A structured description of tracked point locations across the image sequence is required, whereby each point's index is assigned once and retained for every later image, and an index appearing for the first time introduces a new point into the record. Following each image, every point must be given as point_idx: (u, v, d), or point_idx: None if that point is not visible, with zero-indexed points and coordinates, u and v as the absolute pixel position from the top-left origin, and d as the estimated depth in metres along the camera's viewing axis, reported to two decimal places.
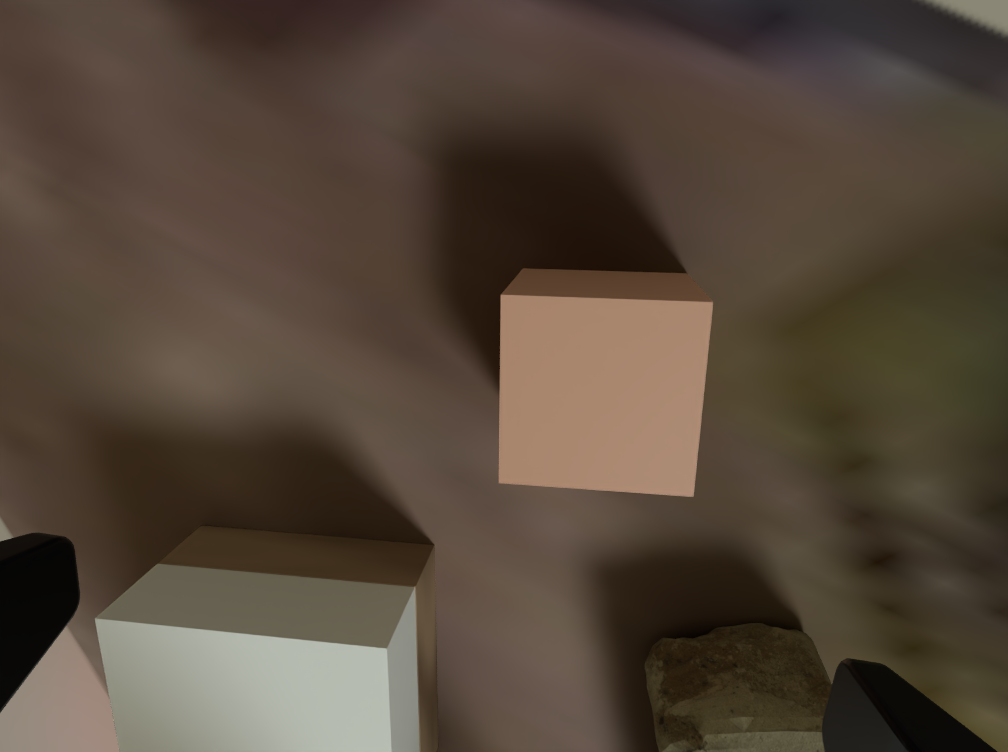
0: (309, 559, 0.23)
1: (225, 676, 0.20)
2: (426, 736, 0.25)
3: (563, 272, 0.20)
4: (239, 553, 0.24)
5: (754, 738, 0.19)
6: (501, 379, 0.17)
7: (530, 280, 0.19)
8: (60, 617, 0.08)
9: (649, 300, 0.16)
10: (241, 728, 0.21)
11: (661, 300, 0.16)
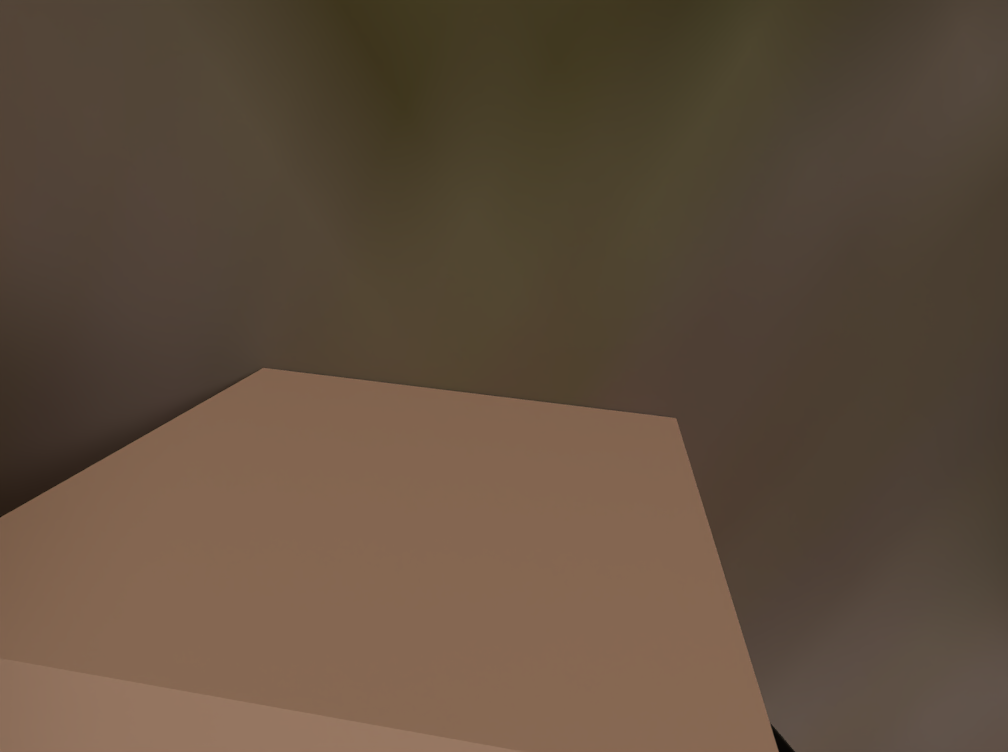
0: None
1: None
2: None
3: None
4: None
5: None
6: None
7: None
8: None
9: None
10: None
11: None
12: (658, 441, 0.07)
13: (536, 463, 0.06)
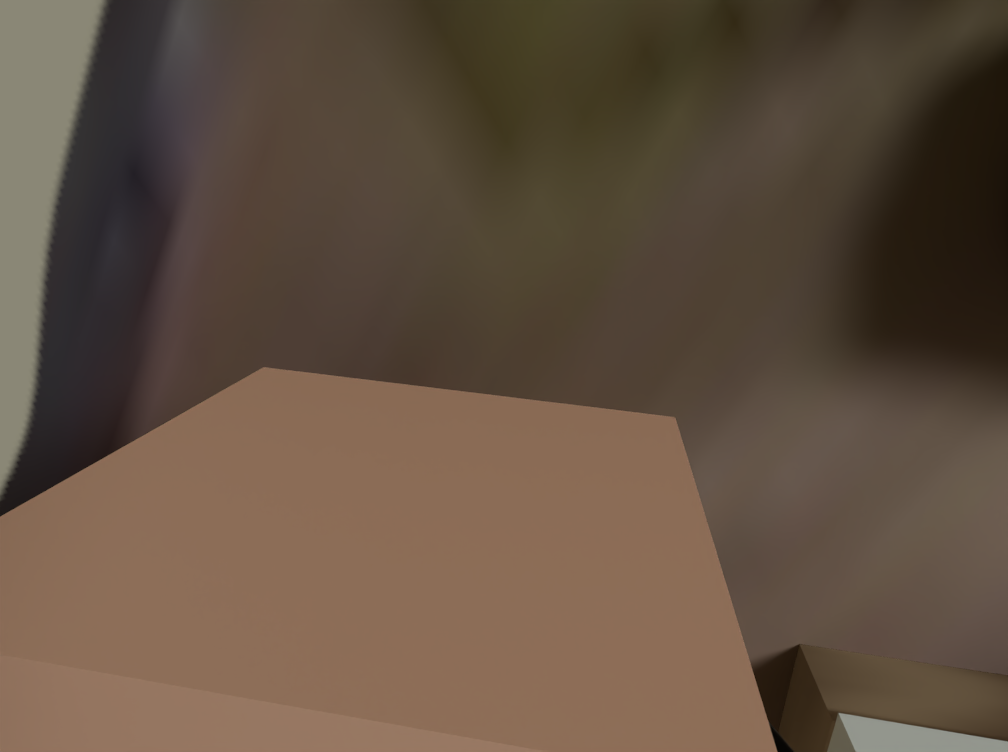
0: None
1: None
2: None
3: None
4: None
5: None
6: None
7: None
8: None
9: None
10: None
11: None
12: (657, 440, 0.07)
13: (535, 460, 0.06)
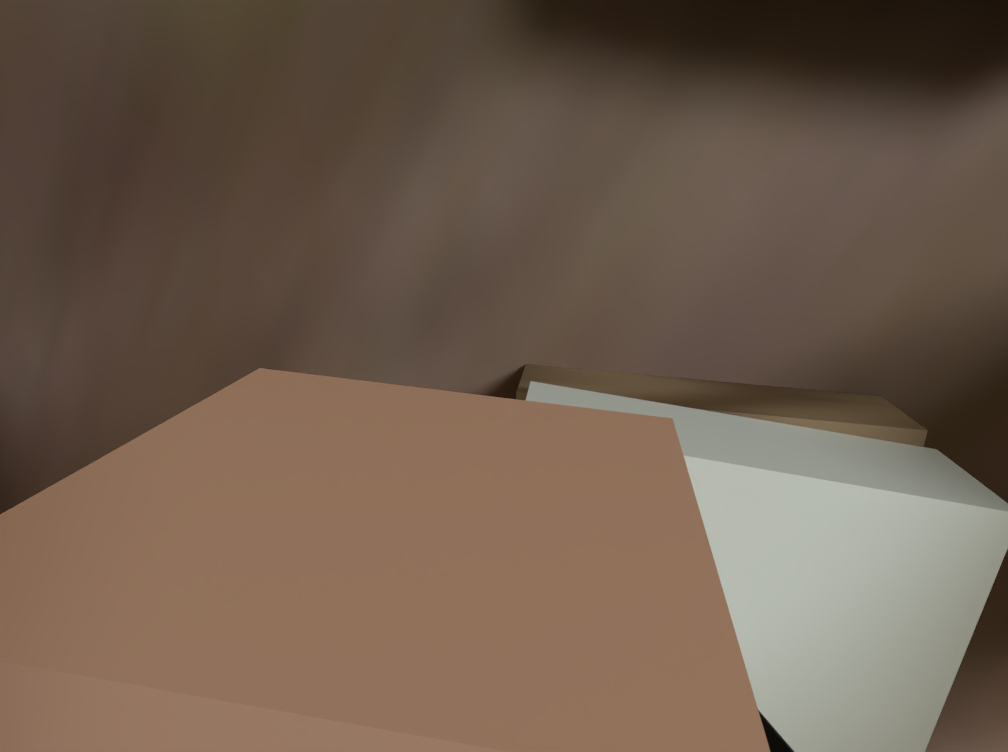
0: None
1: None
2: (813, 408, 0.16)
3: None
4: None
5: None
6: None
7: None
8: None
9: None
10: None
11: None
12: (653, 442, 0.07)
13: (532, 463, 0.06)
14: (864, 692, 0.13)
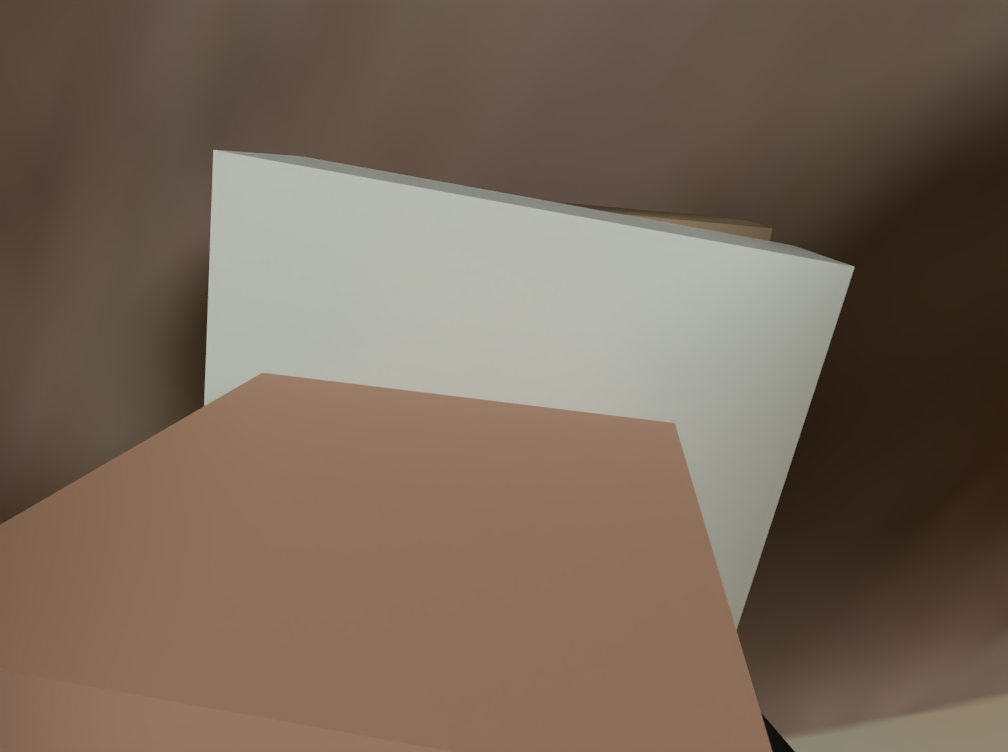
0: None
1: None
2: (645, 214, 0.13)
3: None
4: None
5: None
6: None
7: None
8: None
9: None
10: None
11: None
12: (657, 446, 0.07)
13: (534, 468, 0.06)
14: None
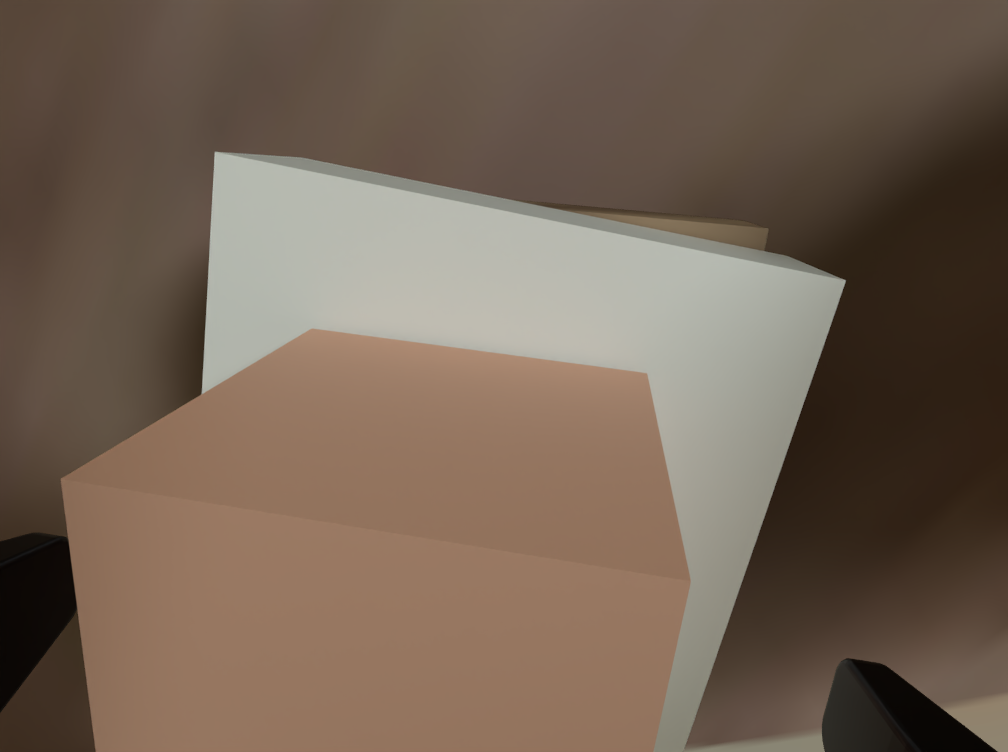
0: None
1: None
2: (642, 215, 0.13)
3: None
4: None
5: None
6: None
7: None
8: (60, 617, 0.08)
9: (82, 626, 0.06)
10: None
11: (82, 597, 0.06)
12: (630, 388, 0.09)
13: (534, 400, 0.08)
14: None
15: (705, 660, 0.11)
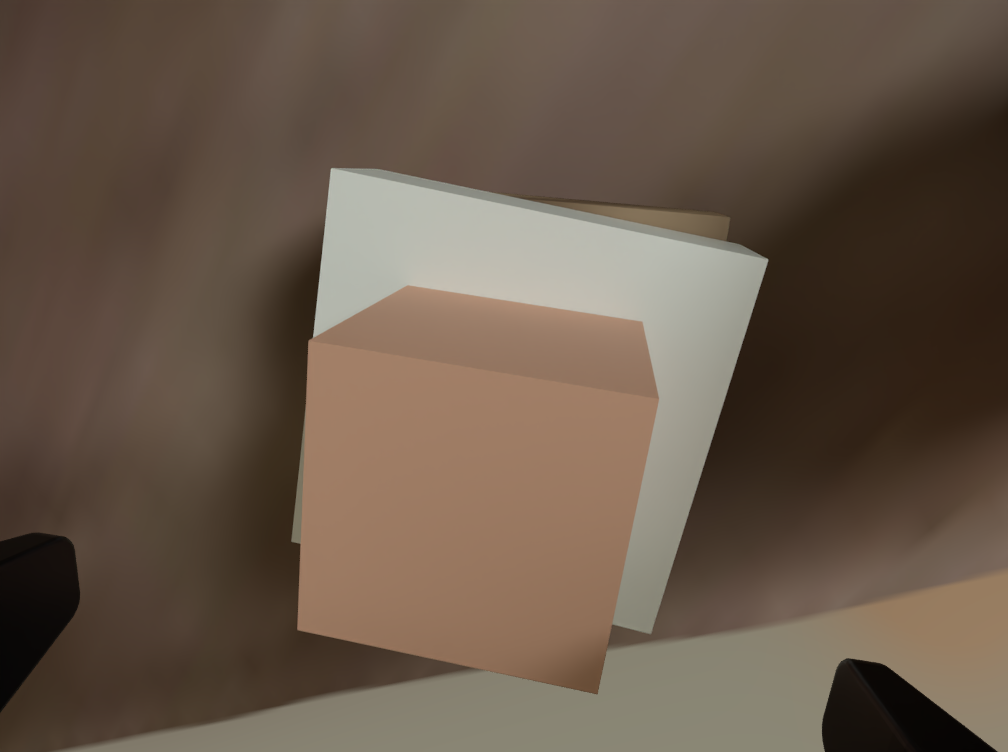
0: None
1: None
2: (637, 207, 0.17)
3: None
4: None
5: None
6: (423, 654, 0.11)
7: None
8: (60, 617, 0.08)
9: (306, 433, 0.10)
10: None
11: (307, 415, 0.10)
12: (630, 328, 0.13)
13: (566, 329, 0.12)
14: None
15: (674, 537, 0.15)
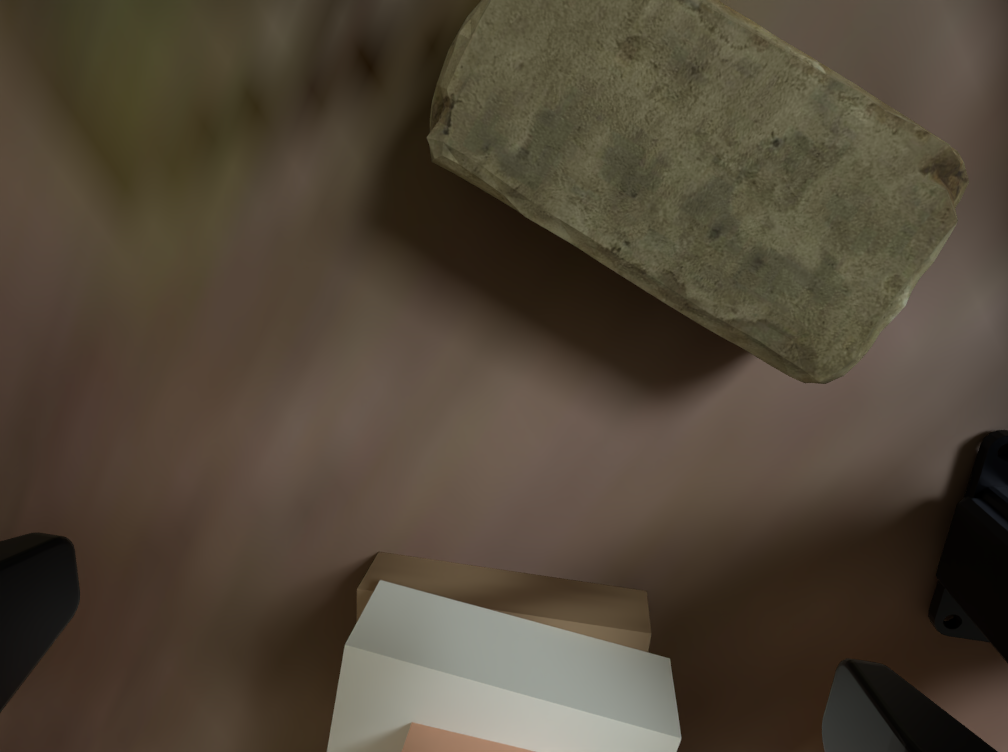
0: None
1: None
2: (579, 605, 0.21)
3: None
4: None
5: (483, 31, 0.14)
6: None
7: None
8: (60, 617, 0.08)
9: None
10: None
11: None
12: None
13: None
14: None
15: None
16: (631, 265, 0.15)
